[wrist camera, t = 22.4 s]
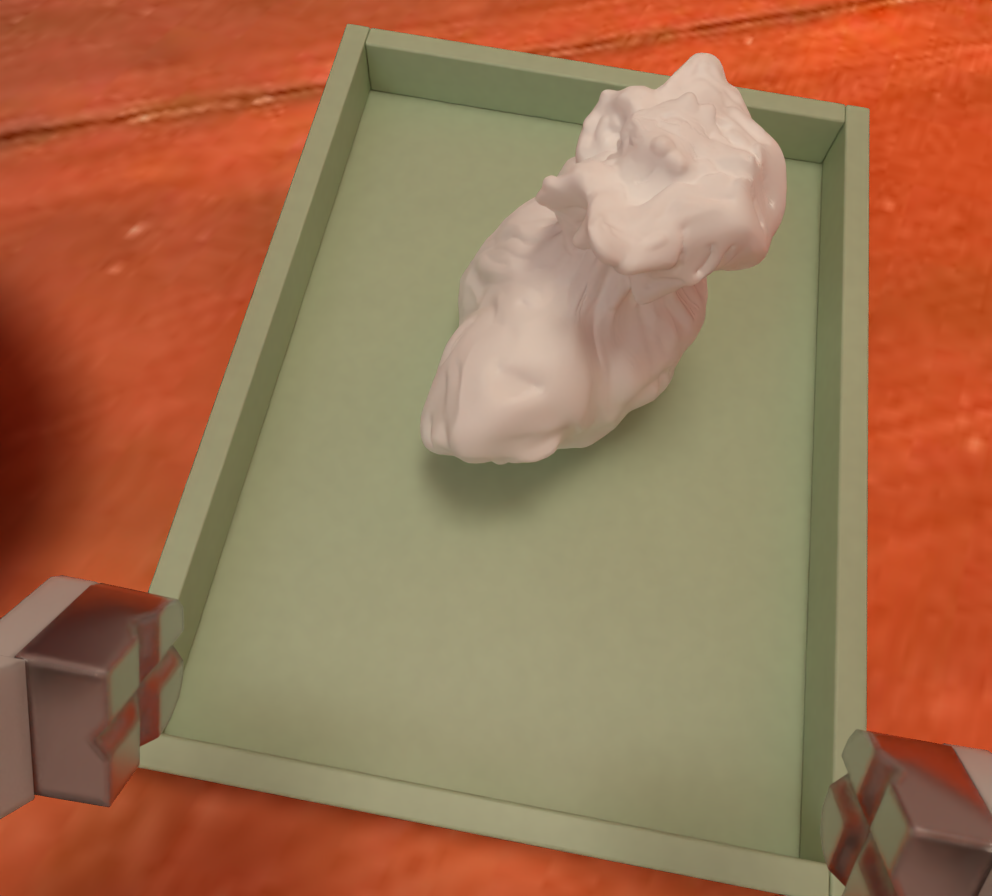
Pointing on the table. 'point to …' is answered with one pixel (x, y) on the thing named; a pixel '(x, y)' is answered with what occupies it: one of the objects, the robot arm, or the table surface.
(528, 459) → the bust
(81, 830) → the table surface
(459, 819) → the serving tray
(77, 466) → the table surface
